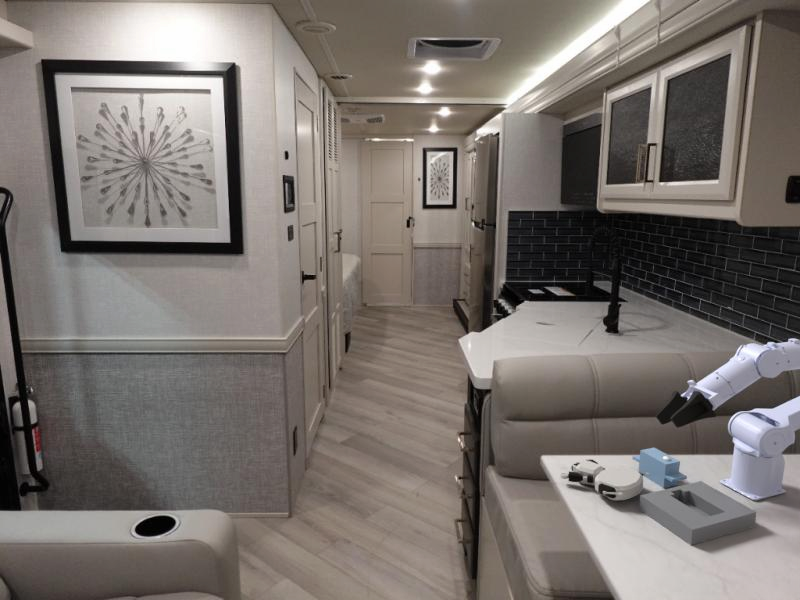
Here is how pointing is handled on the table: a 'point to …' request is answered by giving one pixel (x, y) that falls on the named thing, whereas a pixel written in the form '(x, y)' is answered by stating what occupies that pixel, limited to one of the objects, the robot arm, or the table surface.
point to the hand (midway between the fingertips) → (666, 421)
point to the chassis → (697, 512)
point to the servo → (659, 467)
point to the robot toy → (607, 479)
